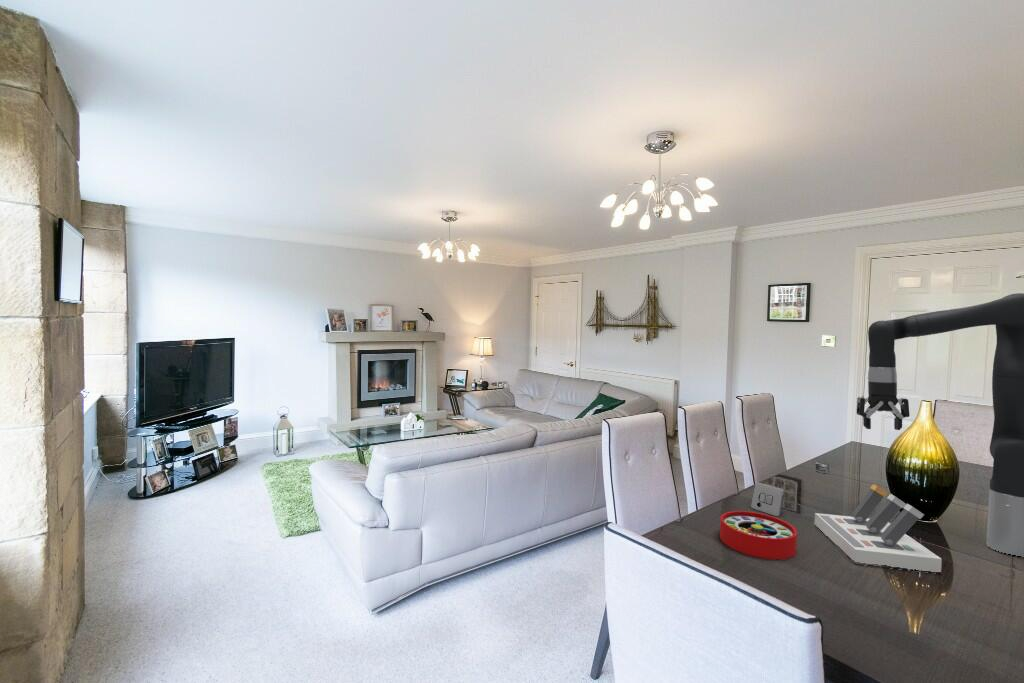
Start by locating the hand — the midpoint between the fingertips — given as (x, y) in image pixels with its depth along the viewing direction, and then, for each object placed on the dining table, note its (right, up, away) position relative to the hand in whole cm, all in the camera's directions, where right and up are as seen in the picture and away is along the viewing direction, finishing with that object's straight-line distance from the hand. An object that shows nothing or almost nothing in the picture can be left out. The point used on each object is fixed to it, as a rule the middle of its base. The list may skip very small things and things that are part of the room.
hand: (882, 429), depth 157 cm
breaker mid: (-18, -26, -19) cm, 37 cm away
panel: (-18, -31, -19) cm, 41 cm away
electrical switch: (-34, -30, +8) cm, 46 cm away
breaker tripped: (-16, -26, -11) cm, 32 cm away
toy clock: (-51, -31, -18) cm, 62 cm away
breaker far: (-20, -26, -27) cm, 42 cm away
